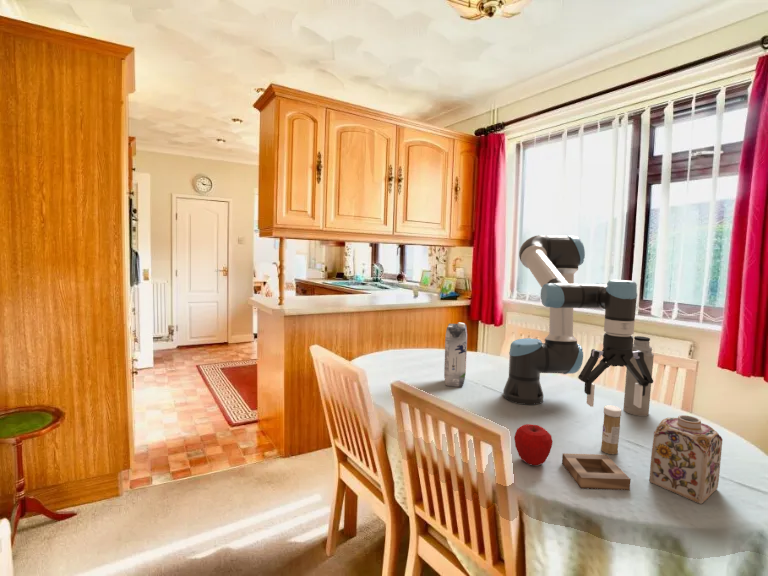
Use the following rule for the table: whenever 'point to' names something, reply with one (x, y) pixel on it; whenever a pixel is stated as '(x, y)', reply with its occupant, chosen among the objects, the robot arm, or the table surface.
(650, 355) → the thermos bottle
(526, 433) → the apple
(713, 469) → the decorative jar
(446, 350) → the juice carton
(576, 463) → the socket board
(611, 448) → the sprinkles bottle
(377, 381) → the table surface
